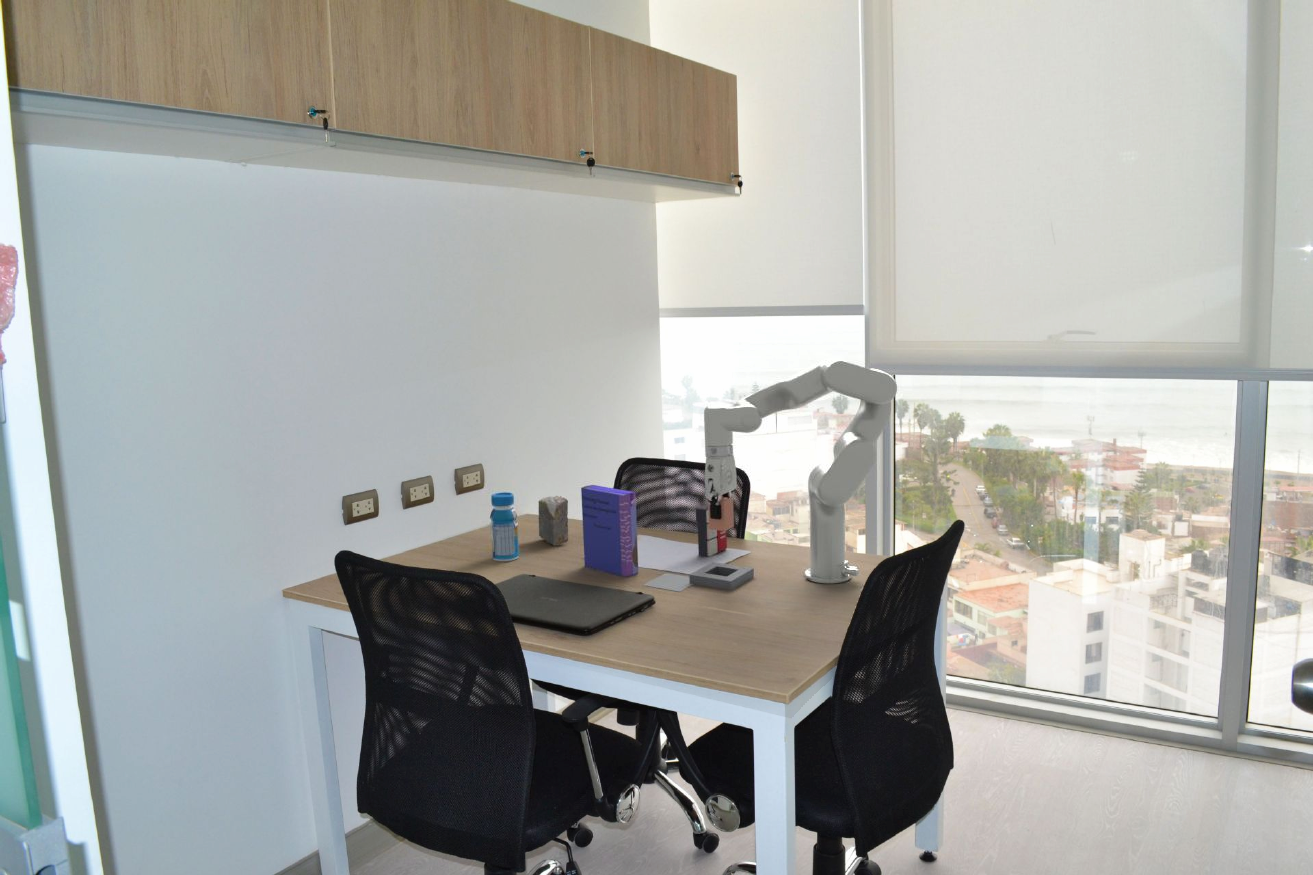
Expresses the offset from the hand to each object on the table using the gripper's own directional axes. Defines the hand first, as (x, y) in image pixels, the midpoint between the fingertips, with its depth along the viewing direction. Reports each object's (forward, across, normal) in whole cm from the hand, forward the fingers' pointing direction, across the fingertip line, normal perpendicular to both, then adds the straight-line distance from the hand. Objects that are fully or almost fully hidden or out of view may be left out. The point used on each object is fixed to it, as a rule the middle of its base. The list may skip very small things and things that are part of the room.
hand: (721, 515), depth 266 cm
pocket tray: (+19, 0, 0) cm, 19 cm away
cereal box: (+19, -5, +34) cm, 39 cm away
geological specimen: (+19, +11, +68) cm, 72 cm away
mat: (+19, -8, +11) cm, 23 cm away
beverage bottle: (+19, -10, +70) cm, 73 cm away
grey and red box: (+19, +23, +16) cm, 34 cm away
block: (+3, 0, 0) cm, 3 cm away
